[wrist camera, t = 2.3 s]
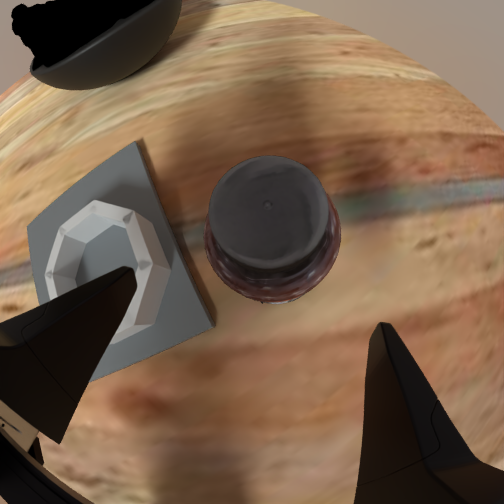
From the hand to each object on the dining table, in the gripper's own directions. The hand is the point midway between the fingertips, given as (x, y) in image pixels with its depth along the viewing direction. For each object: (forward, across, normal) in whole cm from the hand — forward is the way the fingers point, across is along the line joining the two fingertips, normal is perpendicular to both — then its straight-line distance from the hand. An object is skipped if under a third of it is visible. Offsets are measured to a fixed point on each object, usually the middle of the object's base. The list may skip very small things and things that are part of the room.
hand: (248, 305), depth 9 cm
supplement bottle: (+10, 0, +5) cm, 11 cm away
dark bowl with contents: (+25, +24, -10) cm, 36 cm away
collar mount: (+7, +15, +8) cm, 18 cm away
